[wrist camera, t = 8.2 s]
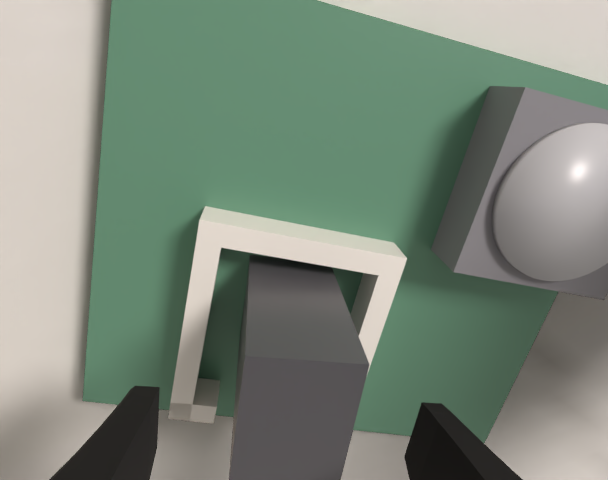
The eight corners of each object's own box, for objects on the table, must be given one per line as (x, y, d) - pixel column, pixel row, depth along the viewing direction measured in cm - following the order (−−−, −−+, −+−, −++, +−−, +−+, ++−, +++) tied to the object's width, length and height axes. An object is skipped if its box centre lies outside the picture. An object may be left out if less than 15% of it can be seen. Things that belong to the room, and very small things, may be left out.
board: (629, 97, 16) (720, 101, 13) (473, 427, 21) (510, 487, 18) (126, -48, 12) (83, -90, 9) (92, 384, 18) (57, 447, 15)
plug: (330, 263, 16) (369, 364, 10) (306, 384, 18) (328, 526, 12) (249, 255, 15) (245, 356, 10) (234, 379, 17) (223, 524, 12)
